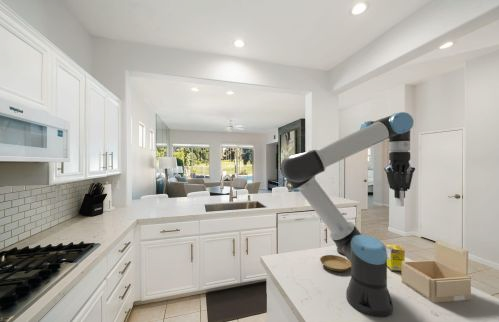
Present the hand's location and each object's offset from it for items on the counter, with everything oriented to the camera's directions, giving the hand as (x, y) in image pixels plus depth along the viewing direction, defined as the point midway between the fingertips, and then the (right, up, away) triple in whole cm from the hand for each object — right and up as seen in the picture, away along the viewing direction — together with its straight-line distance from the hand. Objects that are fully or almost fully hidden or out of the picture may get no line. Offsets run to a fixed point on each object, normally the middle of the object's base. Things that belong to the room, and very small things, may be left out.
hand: (399, 205), depth 89 cm
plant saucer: (-22, -35, +16) cm, 44 cm away
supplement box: (+7, -35, +13) cm, 38 cm away
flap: (+18, -20, -4) cm, 27 cm away
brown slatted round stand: (-7, -35, +33) cm, 49 cm away
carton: (+11, -34, -5) cm, 36 cm away
